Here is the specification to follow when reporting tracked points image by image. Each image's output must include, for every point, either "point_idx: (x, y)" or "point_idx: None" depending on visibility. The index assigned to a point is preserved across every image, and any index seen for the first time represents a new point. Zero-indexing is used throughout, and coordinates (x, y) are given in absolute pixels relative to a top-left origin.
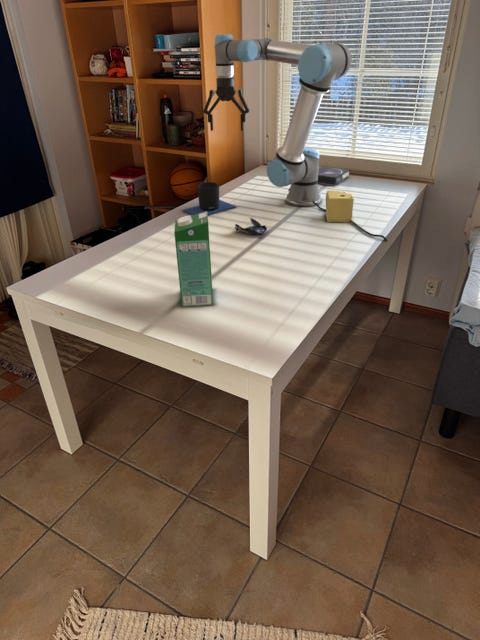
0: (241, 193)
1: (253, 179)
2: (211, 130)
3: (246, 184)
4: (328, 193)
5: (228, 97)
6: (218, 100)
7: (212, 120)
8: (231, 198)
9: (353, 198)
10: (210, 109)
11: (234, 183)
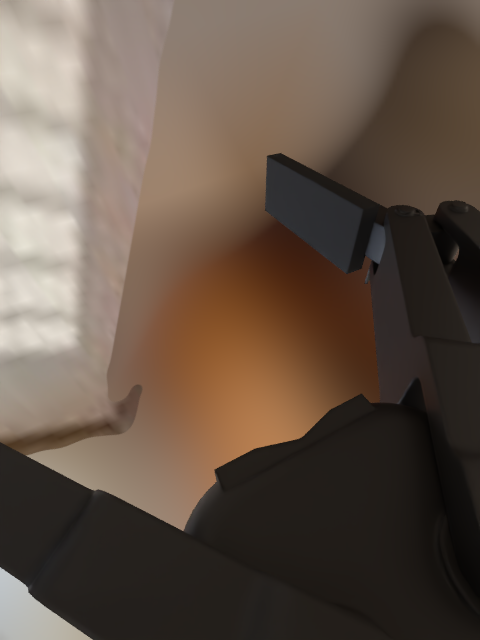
0: (10, 118)
1: (68, 312)
2: (275, 154)
3: (63, 253)
4: None
5: (275, 560)
6: (449, 356)
7: (313, 225)
8: (12, 6)
9: None
10: (423, 240)
11: (115, 251)
